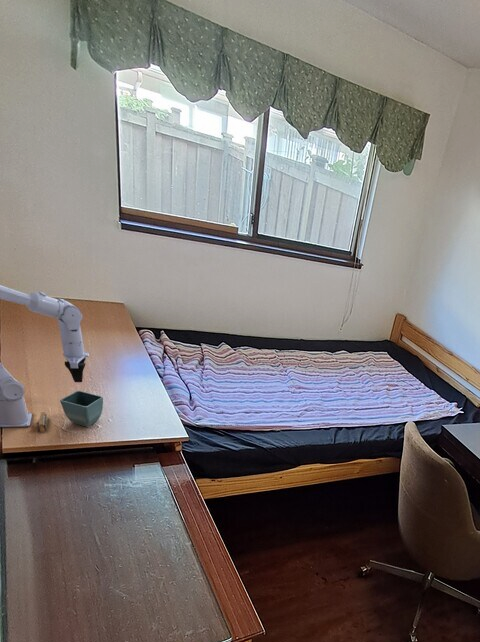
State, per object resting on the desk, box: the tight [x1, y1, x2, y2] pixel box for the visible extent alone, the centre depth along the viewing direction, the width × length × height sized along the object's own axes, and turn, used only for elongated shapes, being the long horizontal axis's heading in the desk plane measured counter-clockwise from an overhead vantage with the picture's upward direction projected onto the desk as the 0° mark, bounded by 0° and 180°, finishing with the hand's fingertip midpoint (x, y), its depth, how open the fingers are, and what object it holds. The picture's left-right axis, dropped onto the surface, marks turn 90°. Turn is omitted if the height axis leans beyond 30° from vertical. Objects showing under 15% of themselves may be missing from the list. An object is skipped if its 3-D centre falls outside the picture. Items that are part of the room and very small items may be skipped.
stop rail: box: [38, 411, 49, 433], centre depth 144 cm, size 2×8×3 cm, turn 27°
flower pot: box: [59, 390, 104, 428], centre depth 149 cm, size 9×9×9 cm
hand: (78, 379), depth 153 cm, fingers open, 3 cm apart
